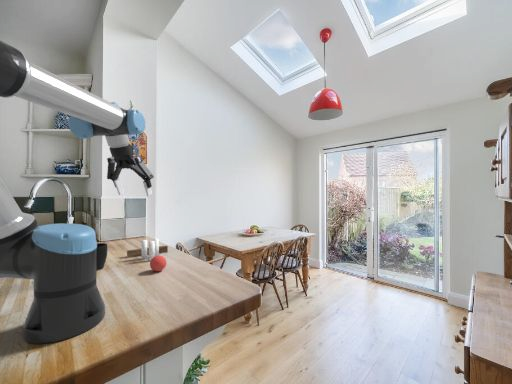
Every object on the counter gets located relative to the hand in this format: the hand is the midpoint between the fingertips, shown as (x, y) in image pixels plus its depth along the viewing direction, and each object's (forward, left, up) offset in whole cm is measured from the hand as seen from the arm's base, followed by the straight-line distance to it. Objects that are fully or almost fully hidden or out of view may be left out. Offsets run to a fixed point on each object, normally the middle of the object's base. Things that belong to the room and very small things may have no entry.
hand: (135, 194), depth 100 cm
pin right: (+6, -9, -30) cm, 32 cm away
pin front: (+2, -6, -30) cm, 31 cm away
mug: (+4, +15, -30) cm, 34 cm away
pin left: (+6, -4, -30) cm, 31 cm away
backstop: (+14, -6, -30) cm, 33 cm away
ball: (-14, -6, -27) cm, 31 cm away
